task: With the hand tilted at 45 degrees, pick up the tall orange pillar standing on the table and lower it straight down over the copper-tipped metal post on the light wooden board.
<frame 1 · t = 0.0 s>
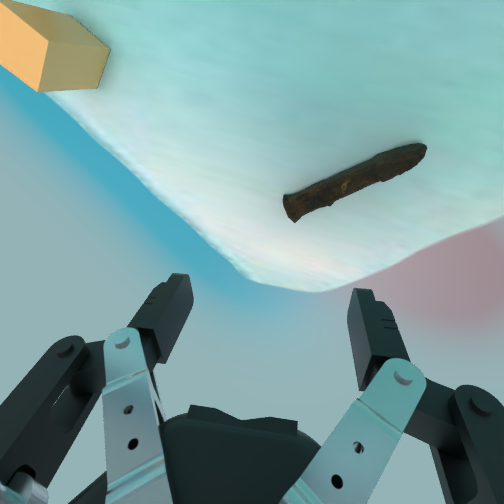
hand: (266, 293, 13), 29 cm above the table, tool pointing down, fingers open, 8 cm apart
hand tool: (345, 173, 38), on the table
tall orange pillar: (84, 53, 35), on the table
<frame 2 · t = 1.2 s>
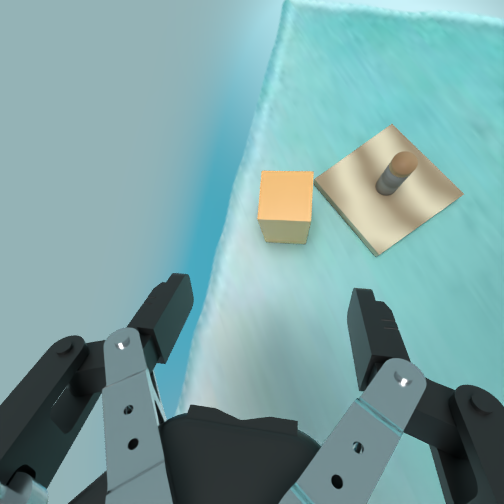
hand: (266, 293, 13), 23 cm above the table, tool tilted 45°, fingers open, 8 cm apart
tall orange pillar: (286, 224, 37), on the table
post board: (382, 191, 36), on the table
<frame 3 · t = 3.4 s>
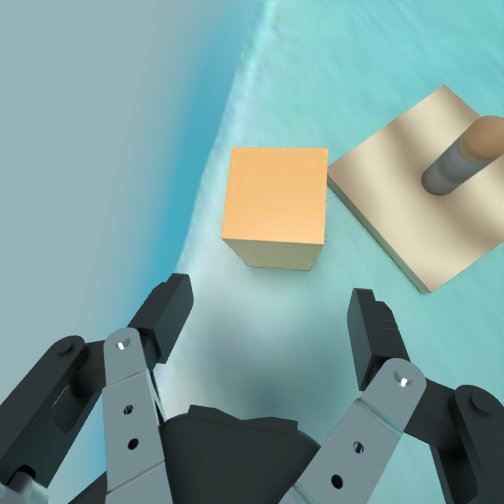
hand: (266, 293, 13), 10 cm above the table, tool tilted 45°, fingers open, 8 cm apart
tall orange pillar: (280, 238, 24), on the table
post board: (429, 188, 23), on the table
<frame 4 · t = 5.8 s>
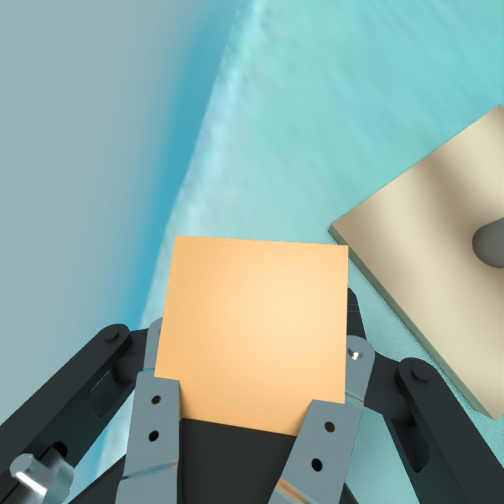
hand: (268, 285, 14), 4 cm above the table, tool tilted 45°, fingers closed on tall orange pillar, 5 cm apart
tall orange pillar: (271, 317, 17), on the table, touching gripper
post board: (479, 250, 17), on the table
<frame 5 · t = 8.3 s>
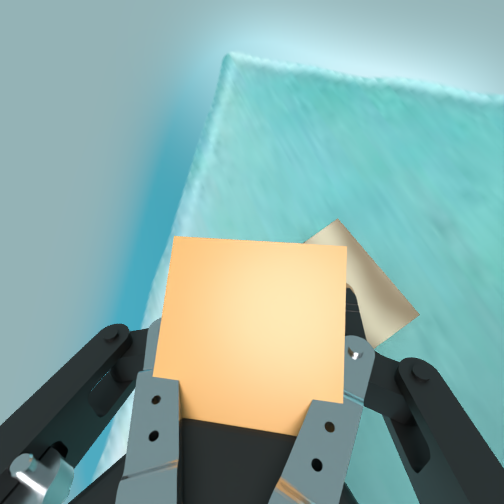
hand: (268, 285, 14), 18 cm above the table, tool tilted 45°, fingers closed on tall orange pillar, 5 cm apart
tall orange pillar: (270, 318, 17), point 13 cm above the table, touching gripper
post board: (325, 299, 30), on the table
when the fingers open (7 cm above the table, at t = 10.9 s): tall orange pillar stays where it is, resting on post board.
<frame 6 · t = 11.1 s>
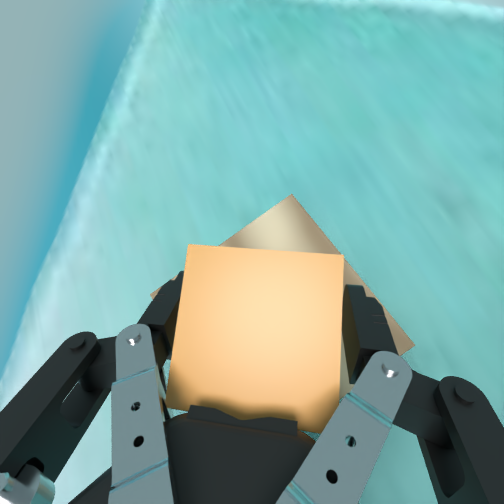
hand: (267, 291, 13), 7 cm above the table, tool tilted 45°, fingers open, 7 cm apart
tall orange pillar: (272, 318, 18), point 1 cm above the table, touching post board
post board: (272, 317, 20), on the table
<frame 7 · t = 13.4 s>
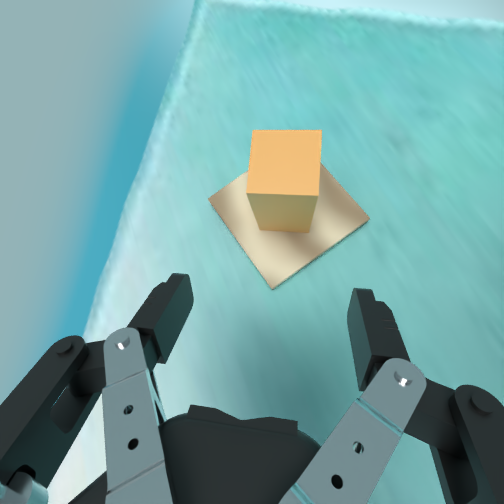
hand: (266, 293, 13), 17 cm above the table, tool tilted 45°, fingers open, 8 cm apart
tall orange pillar: (285, 208, 30), point 1 cm above the table, touching post board
post board: (285, 212, 32), on the table
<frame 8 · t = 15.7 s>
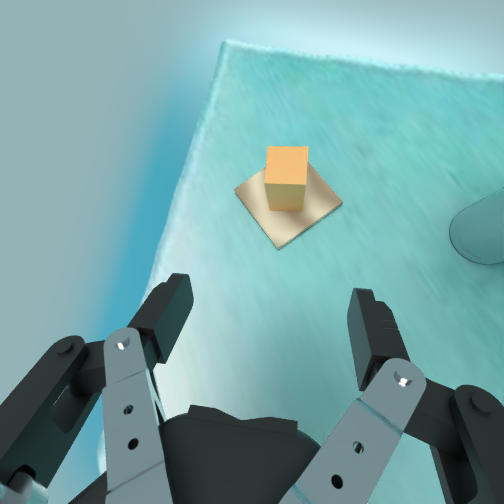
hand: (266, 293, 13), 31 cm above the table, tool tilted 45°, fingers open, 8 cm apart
tall orange pillar: (286, 195, 45), point 1 cm above the table, touching post board
post board: (286, 199, 46), on the table
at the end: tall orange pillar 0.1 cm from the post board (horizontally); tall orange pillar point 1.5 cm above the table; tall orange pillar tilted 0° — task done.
